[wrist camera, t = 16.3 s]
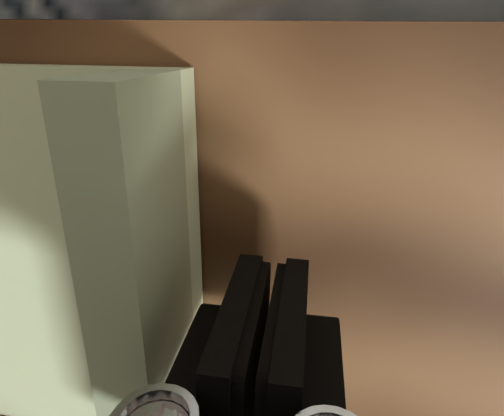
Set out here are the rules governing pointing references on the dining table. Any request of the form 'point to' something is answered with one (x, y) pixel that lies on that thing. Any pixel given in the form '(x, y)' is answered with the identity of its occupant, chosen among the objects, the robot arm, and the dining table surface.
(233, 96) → the well board
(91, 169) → the slide cover
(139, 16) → the dining table surface
